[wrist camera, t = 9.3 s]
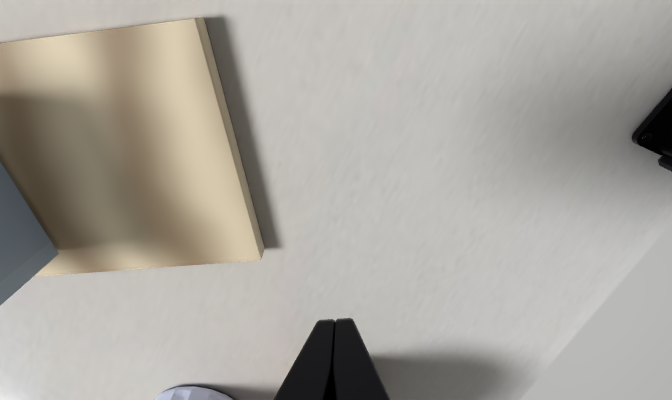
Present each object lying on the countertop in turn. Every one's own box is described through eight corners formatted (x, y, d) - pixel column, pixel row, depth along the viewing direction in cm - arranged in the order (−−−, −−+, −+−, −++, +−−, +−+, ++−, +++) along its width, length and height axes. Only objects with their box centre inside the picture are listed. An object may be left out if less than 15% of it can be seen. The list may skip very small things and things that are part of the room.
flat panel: (203, 17, 17) (151, 22, 12) (264, 248, 24) (245, 306, 19) (-199, 68, 18) (-377, 89, 14) (-32, 270, 25) (-114, 329, 21)
